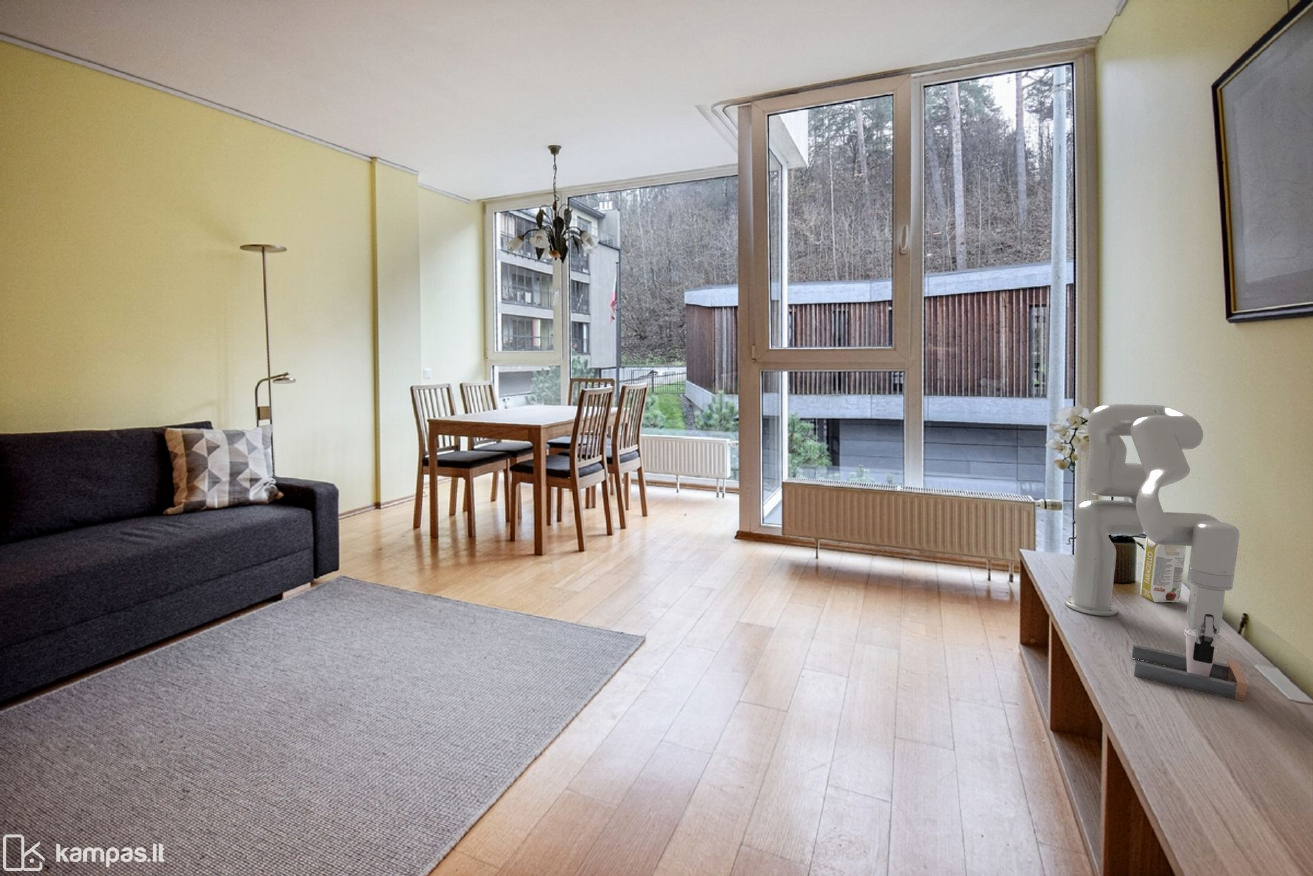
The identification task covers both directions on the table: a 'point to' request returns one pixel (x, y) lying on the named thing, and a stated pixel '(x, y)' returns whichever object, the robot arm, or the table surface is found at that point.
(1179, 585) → the juice carton
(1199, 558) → the robot arm
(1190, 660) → the smoothie
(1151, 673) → the grey frame
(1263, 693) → the table surface
